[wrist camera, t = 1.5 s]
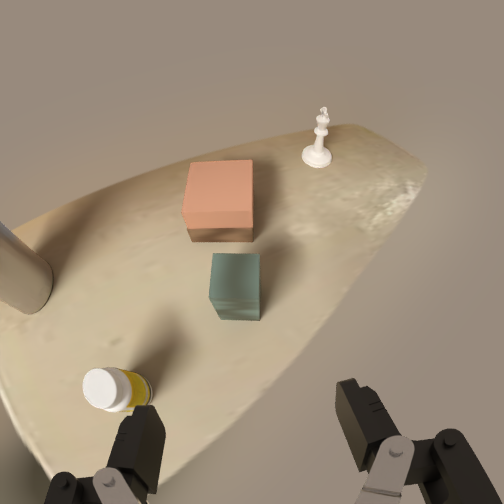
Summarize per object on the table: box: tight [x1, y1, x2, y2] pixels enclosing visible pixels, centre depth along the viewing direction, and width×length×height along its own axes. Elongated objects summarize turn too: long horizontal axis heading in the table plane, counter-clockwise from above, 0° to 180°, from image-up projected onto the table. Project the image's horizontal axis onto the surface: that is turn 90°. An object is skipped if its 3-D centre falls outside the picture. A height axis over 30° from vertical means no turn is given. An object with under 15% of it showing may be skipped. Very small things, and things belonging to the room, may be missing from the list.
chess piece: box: [302, 107, 332, 168], centre depth 40 cm, size 5×5×10 cm
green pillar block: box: [209, 253, 261, 321], centre depth 31 cm, size 4×4×8 cm
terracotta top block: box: [181, 160, 253, 229], centre depth 36 cm, size 8×8×4 cm
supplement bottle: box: [83, 367, 152, 412], centre depth 25 cm, size 5×5×8 cm
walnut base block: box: [187, 185, 254, 242], centre depth 39 cm, size 8×8×4 cm
